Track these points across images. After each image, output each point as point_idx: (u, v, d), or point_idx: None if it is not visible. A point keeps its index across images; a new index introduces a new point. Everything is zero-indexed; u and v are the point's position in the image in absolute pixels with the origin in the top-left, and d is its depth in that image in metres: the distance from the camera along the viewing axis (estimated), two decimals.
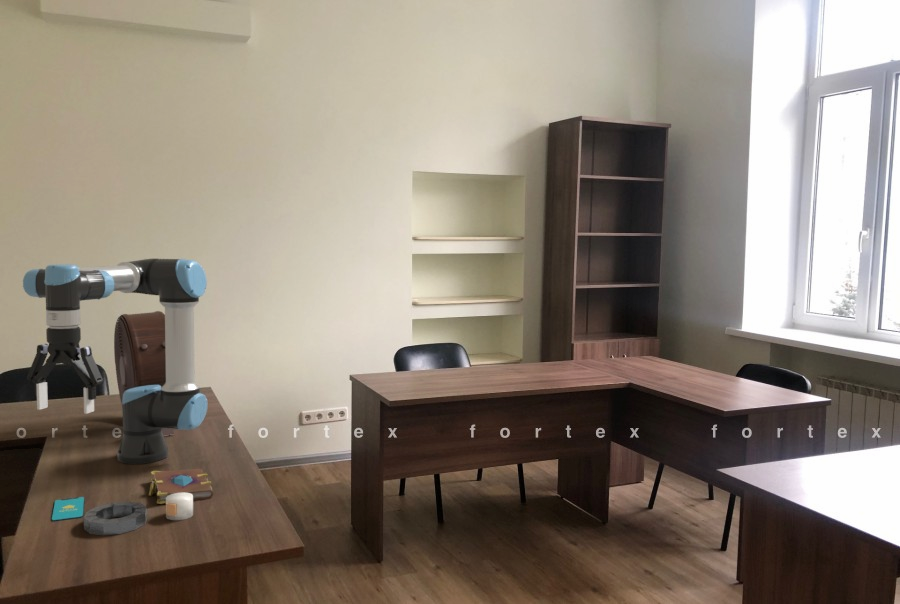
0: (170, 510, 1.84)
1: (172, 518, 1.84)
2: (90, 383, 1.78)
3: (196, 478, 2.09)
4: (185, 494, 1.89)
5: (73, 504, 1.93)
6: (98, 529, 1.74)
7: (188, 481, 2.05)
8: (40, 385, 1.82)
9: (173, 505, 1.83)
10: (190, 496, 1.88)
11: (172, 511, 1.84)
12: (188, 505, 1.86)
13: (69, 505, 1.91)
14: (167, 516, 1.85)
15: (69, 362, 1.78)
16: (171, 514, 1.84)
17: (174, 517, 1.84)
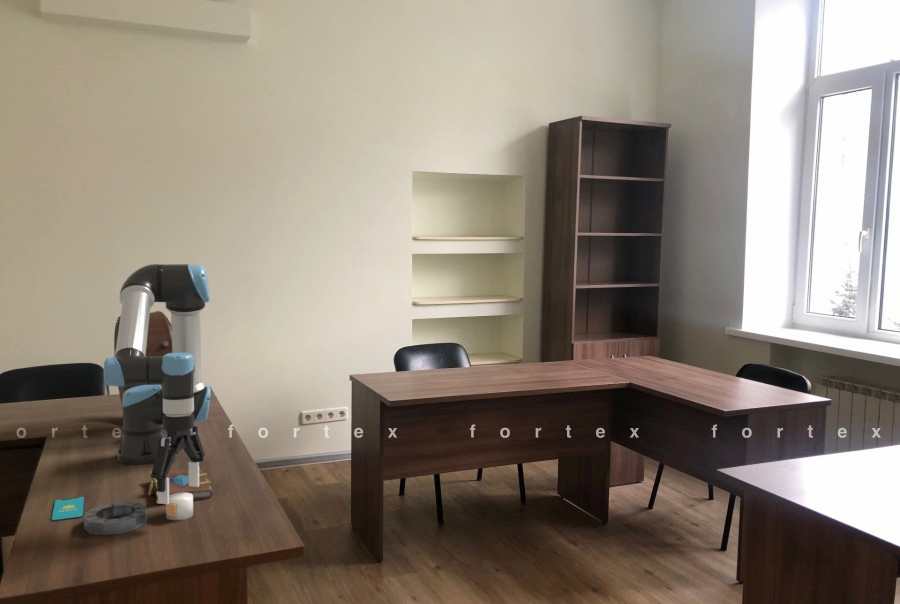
0: (170, 510, 1.84)
1: (172, 518, 1.84)
2: None
3: None
4: (185, 494, 1.89)
5: (73, 504, 1.93)
6: (98, 529, 1.74)
7: (188, 481, 2.05)
8: (190, 463, 1.93)
9: (173, 505, 1.83)
10: (190, 496, 1.88)
11: (172, 511, 1.84)
12: (188, 505, 1.86)
13: (69, 505, 1.91)
14: (167, 516, 1.85)
15: None
16: (171, 514, 1.84)
17: (174, 517, 1.84)
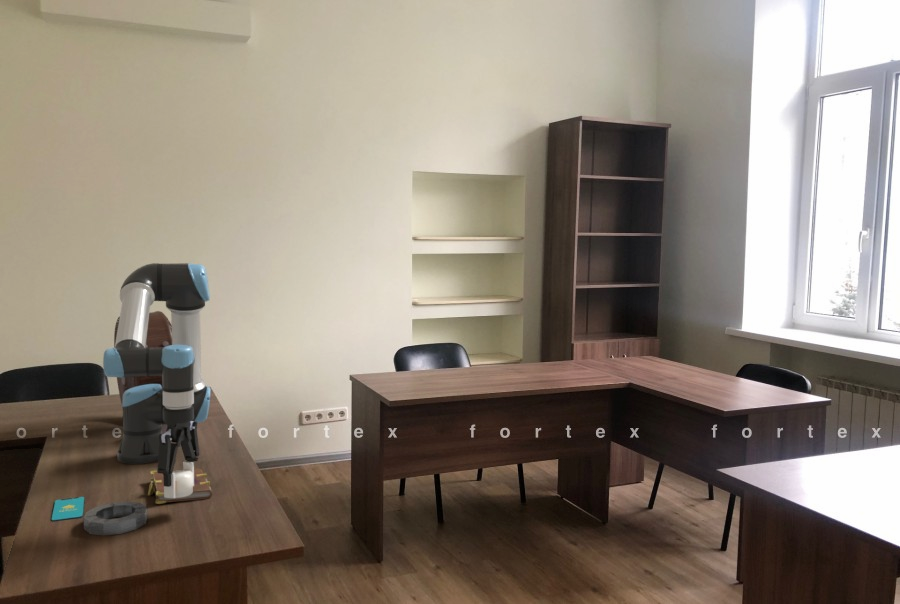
0: None
1: None
2: None
3: (196, 478, 2.08)
4: (185, 471, 1.89)
5: (73, 504, 1.93)
6: (98, 529, 1.74)
7: None
8: (184, 463, 1.91)
9: None
10: (190, 474, 1.88)
11: None
12: (188, 482, 1.86)
13: (69, 505, 1.91)
14: None
15: None
16: None
17: None
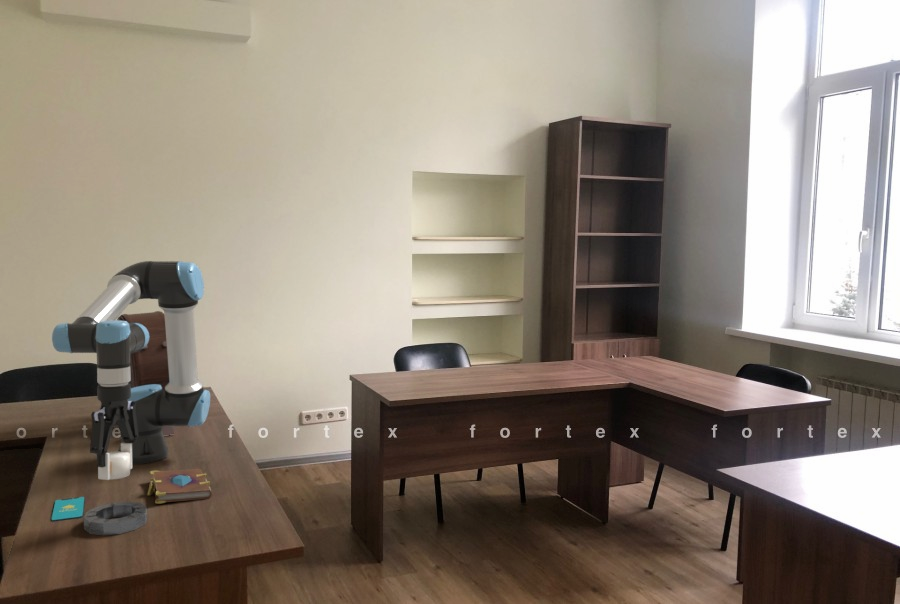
0: None
1: None
2: None
3: (195, 478, 2.08)
4: (122, 453, 1.82)
5: (73, 504, 1.93)
6: (98, 529, 1.74)
7: (187, 481, 2.05)
8: (122, 445, 1.84)
9: None
10: (127, 455, 1.80)
11: None
12: (124, 463, 1.78)
13: (69, 505, 1.91)
14: None
15: None
16: None
17: None
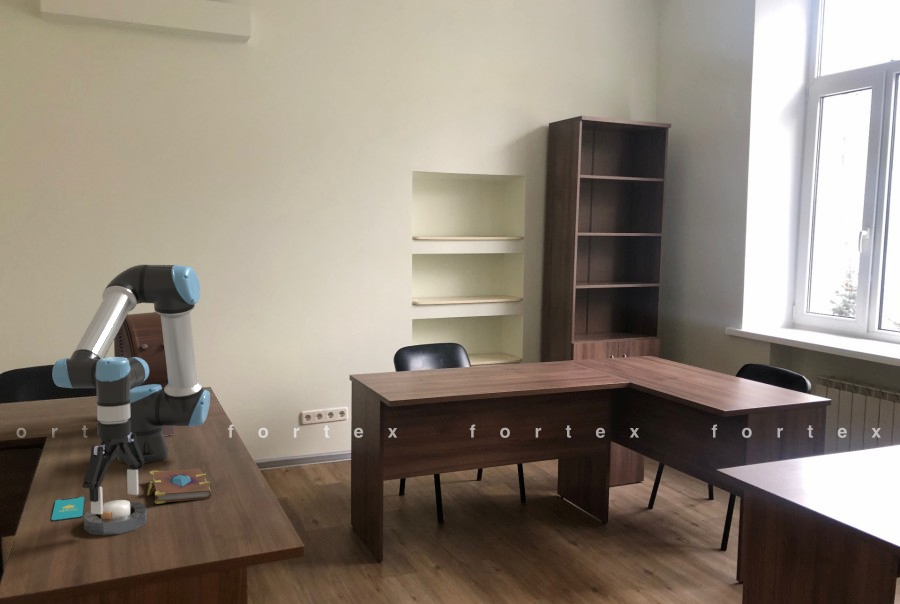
0: None
1: None
2: None
3: (195, 478, 2.08)
4: (122, 502, 1.83)
5: (73, 504, 1.93)
6: (98, 529, 1.74)
7: (187, 481, 2.05)
8: (128, 471, 1.87)
9: (108, 513, 1.77)
10: (127, 504, 1.81)
11: None
12: (124, 513, 1.80)
13: (69, 505, 1.91)
14: None
15: None
16: None
17: None
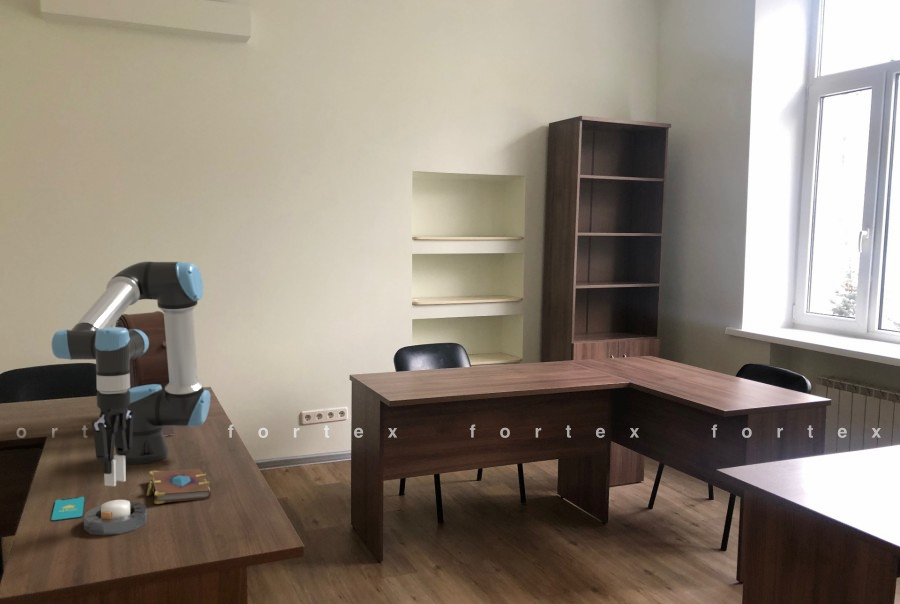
0: None
1: None
2: None
3: (195, 478, 2.08)
4: (122, 501, 1.83)
5: (74, 504, 1.93)
6: (98, 529, 1.74)
7: (186, 481, 2.05)
8: (115, 457, 1.82)
9: (108, 513, 1.77)
10: (127, 504, 1.81)
11: None
12: (124, 513, 1.80)
13: (69, 505, 1.91)
14: None
15: None
16: None
17: None
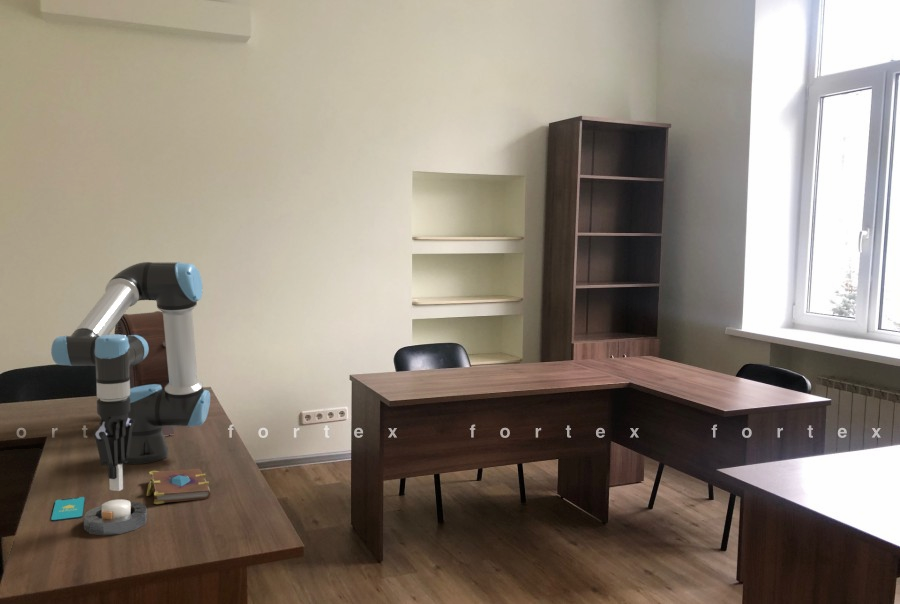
0: (106, 518, 1.77)
1: None
2: None
3: (194, 478, 2.08)
4: (122, 501, 1.83)
5: (74, 504, 1.93)
6: (98, 529, 1.74)
7: (186, 481, 2.04)
8: None
9: (110, 513, 1.77)
10: (127, 503, 1.82)
11: None
12: (125, 513, 1.80)
13: (69, 505, 1.91)
14: None
15: None
16: None
17: None
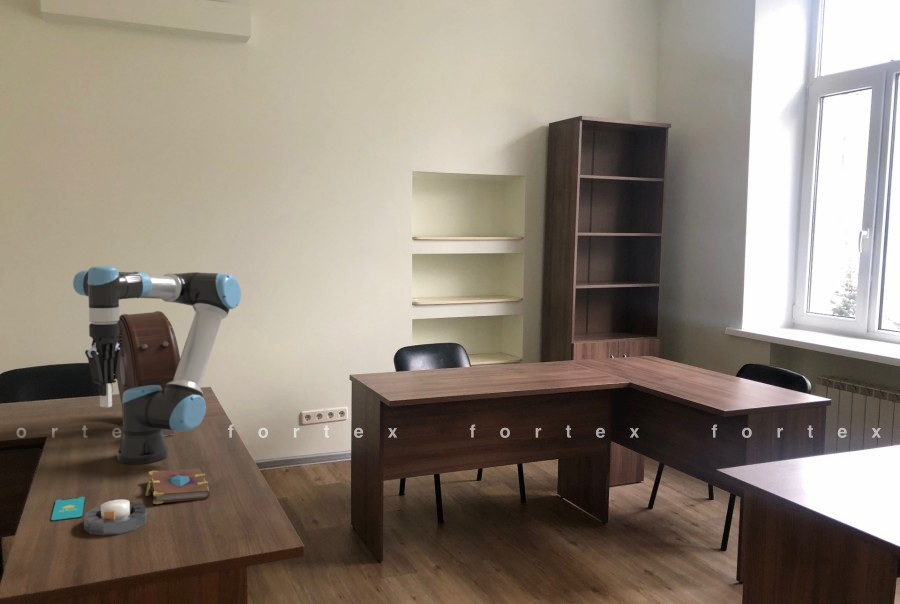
0: (108, 518, 1.77)
1: None
2: None
3: (194, 478, 2.08)
4: (120, 501, 1.83)
5: (74, 504, 1.93)
6: (98, 529, 1.74)
7: (185, 481, 2.04)
8: None
9: (112, 512, 1.77)
10: (127, 502, 1.82)
11: (111, 518, 1.77)
12: (126, 510, 1.80)
13: (69, 505, 1.91)
14: None
15: None
16: None
17: None
